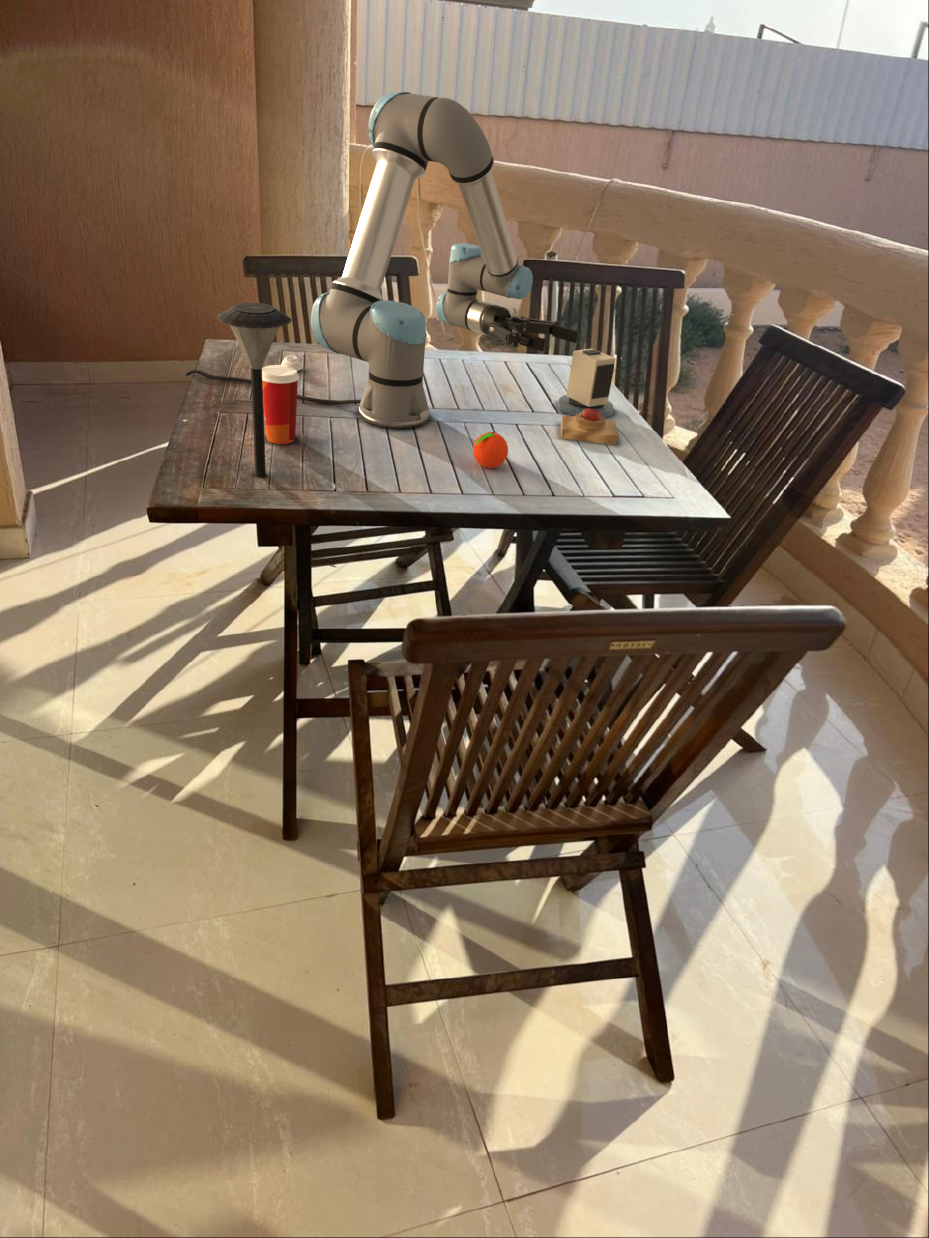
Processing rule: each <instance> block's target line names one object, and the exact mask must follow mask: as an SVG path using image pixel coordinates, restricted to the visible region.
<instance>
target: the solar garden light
mask: <svg viewBox="0 0 929 1238" xmlns="http://www.w3.org/2000/svg"><path fill="white" fill-rule="evenodd" d="M216 319H217V320H218V321H219V323H222V324H225V325H227V326H229V327H230V329H231V331H232V333H233V336H234V337H235V339H236V342H237V344H238V345H239V347H240V349H241V351H242V353H243V355H244V357H245V359H246V361H247V363H248V365H249V367H250V376H251V377H250V379H251V383H252V384H251V383H250V384H251V404H252V426H253V449H254V474H255V475H254V476H256V477H258V478H263V477H266V475H267V474H266V473H267V470H266V468H267V467H266V446H265V445H266V444H265V417H264V407H263V383H262V368H263V366H264V363H265V362H266V359H267V357H268V354H269V352H270V349H271V347H272V346H273V343H274V340H275V338H276V336H277V333H278V331H279V328H280V327H285V326H288V325H289V324H291V323H292V320H293V319H292V318H291V316H290V317H289V315H287V314H286V313H284V312H282V311H281V310H279V309H277V308H276V307H274V306H272V305H270V304H267V303H261V302H241V303H237V304H235V305H233V306H231V307H230V308H229V307H228V309H225V310H224V311H222V312H219V313H218V314H217V316H216Z"/></svg>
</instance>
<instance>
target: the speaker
mask: <svg viewBox="0 0 929 1238" xmlns="http://www.w3.org/2000/svg"><path fill="white" fill-rule="evenodd" d="M616 359H617V358H616V357H614V356H612V355H609V354H607V353H604V352H602V351H600V350H597V349H594V348H586V349H585V348H584V349H577V350H573V352H572V357H571V365H570V370H569V376H568V384H567V390H566V395H567V397H569V401H570V402H571V403H573V404H575V405H578V406H582V407H588V408H597V407H602V406H603V405H604V404H607V403H608V401H609V398H610V392H611V387H612V380H613V376H614V370H615V365H616Z"/></svg>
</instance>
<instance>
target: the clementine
mask: <svg viewBox="0 0 929 1238" xmlns="http://www.w3.org/2000/svg"><path fill="white" fill-rule="evenodd" d="M472 453H473V457H474V460H476V462H477V463H478V464H479V465H480V466H482V467H484V468H488V469H495V468H498V467H500V466H501V465H502V464H503V463H504V462H505V461H506V459H507V457H508V454H509V446H508V442H507V441H506V439H505V437H503V436H502V435H501V434H499V433H498V432H493V431H487V432H484V433H483V434H482V433H481V434H480V435H479V436H478V437H477V438H476V440H475V441H474V443H473V447H472Z"/></svg>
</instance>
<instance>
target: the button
mask: <svg viewBox="0 0 929 1238" xmlns="http://www.w3.org/2000/svg"><path fill="white" fill-rule="evenodd" d="M599 415H600V412H599V411H598V410H596V409H591V408H587V409H584V410H583V416H582V418H584V419H586V420H591V421H596V420H599Z"/></svg>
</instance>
